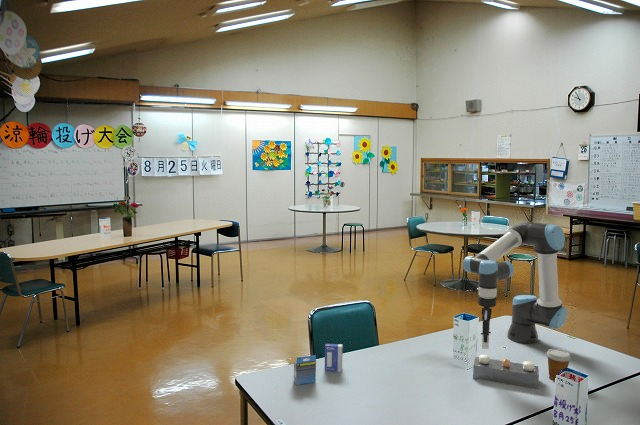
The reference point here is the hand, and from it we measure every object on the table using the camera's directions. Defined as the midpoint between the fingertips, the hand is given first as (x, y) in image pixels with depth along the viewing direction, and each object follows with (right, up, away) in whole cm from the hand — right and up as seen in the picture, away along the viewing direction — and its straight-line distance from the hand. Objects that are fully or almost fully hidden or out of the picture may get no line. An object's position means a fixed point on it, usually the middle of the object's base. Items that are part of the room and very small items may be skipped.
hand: (485, 348), depth 217 cm
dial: (+8, -7, -3) cm, 11 cm away
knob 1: (0, -11, +1) cm, 11 cm away
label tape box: (-79, -13, -7) cm, 81 cm away
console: (+8, -13, -2) cm, 15 cm away
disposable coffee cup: (+31, -13, -2) cm, 33 cm away
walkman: (-67, -12, +5) cm, 68 cm away
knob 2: (+16, -12, -6) cm, 21 cm away
